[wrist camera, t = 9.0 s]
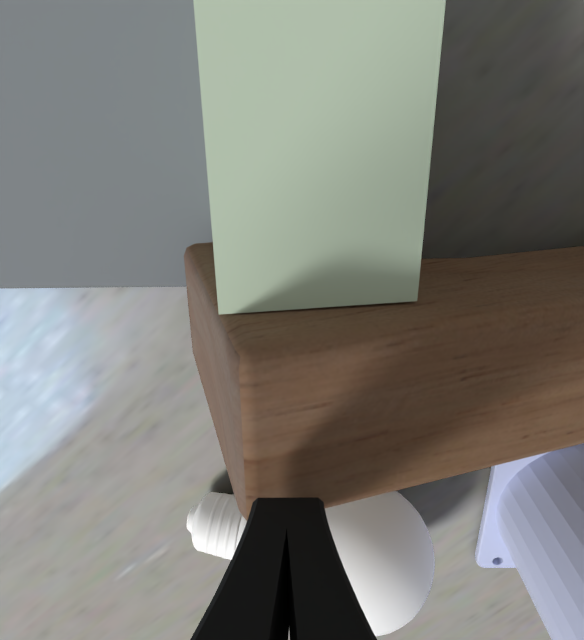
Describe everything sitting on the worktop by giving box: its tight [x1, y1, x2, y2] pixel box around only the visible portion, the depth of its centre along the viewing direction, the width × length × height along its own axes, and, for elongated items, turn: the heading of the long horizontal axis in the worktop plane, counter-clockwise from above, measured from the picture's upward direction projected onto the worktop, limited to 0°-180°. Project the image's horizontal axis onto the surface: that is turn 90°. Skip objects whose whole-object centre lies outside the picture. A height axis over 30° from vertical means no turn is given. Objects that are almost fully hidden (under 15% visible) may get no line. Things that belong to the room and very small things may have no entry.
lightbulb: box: [187, 491, 435, 636], centre depth 21 cm, size 6×6×11 cm
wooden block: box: [184, 242, 584, 521], centre depth 16 cm, size 9×4×18 cm
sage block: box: [193, 0, 446, 315], centre depth 13 cm, size 4×8×8 cm, turn 1°
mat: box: [0, 0, 213, 288], centre depth 16 cm, size 14×12×1 cm
